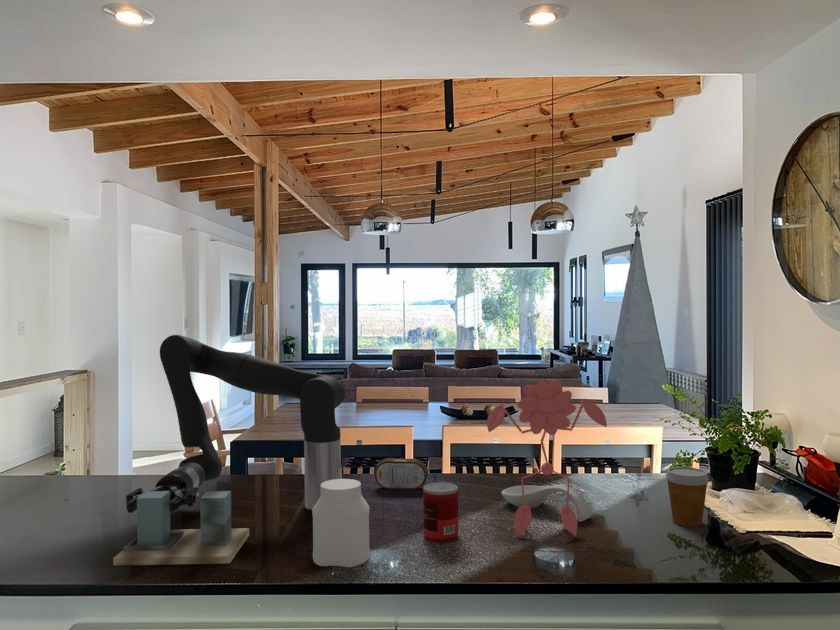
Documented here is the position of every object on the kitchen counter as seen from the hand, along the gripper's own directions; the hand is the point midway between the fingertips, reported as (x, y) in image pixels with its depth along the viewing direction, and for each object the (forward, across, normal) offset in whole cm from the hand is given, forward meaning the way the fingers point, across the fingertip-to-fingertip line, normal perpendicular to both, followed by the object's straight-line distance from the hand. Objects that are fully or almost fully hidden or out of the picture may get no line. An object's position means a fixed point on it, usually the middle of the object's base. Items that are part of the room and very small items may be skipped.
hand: (150, 507), depth 132 cm
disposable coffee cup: (-13, +119, +10) cm, 120 cm away
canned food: (-7, +61, +10) cm, 62 cm away
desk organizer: (-2, +6, +10) cm, 12 cm away
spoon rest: (-24, +88, +10) cm, 92 cm away
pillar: (-2, 0, +8) cm, 8 cm away
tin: (-45, +52, +10) cm, 69 cm away
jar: (+4, +40, +10) cm, 41 cm away
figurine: (-4, +84, +10) cm, 85 cm away
